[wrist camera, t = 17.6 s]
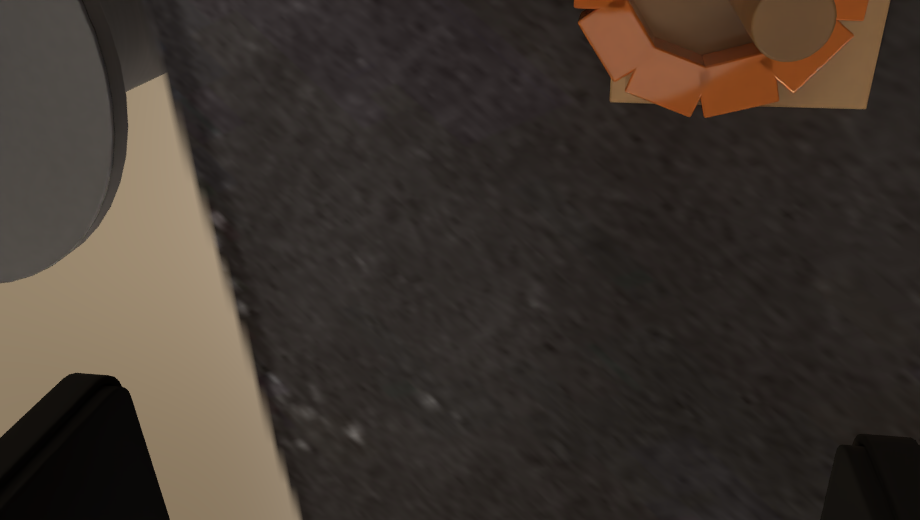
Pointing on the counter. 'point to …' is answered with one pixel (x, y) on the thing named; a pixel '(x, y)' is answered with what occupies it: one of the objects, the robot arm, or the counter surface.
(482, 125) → the counter surface
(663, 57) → the ring
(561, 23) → the counter surface
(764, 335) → the counter surface
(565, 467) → the counter surface
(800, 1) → the stand
